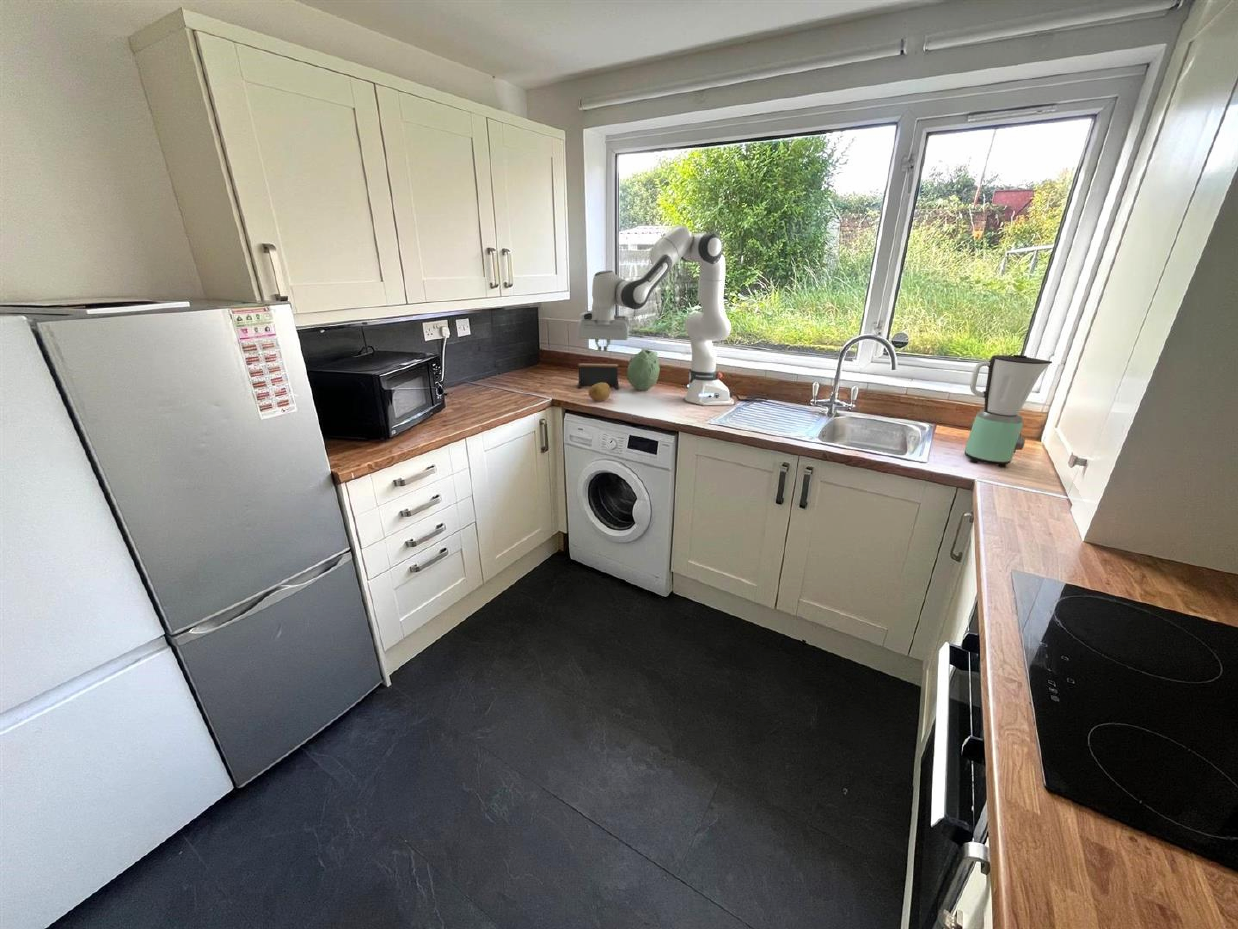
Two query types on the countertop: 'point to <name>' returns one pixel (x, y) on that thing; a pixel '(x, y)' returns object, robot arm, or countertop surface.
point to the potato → (599, 391)
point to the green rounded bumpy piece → (643, 370)
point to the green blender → (1002, 407)
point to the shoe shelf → (598, 374)
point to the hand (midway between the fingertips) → (602, 350)
